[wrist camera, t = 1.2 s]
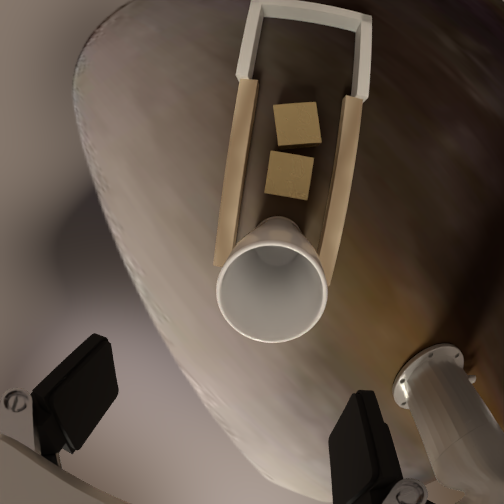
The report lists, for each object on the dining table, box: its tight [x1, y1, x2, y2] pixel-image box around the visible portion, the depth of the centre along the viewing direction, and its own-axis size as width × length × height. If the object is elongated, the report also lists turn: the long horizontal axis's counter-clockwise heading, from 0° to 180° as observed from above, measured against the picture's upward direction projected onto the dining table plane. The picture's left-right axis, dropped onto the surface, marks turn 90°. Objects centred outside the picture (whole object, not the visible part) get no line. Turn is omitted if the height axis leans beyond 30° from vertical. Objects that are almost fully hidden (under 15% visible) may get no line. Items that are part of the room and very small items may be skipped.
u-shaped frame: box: [236, 0, 372, 102], centre depth 23 cm, size 13×11×3 cm
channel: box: [213, 79, 363, 286], centre depth 28 cm, size 13×20×2 cm, turn 172°
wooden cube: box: [264, 151, 314, 200], centre depth 27 cm, size 4×4×4 cm
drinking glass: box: [216, 216, 328, 343], centre depth 23 cm, size 7×7×15 cm
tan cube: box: [273, 102, 322, 150], centre depth 25 cm, size 4×4×4 cm
